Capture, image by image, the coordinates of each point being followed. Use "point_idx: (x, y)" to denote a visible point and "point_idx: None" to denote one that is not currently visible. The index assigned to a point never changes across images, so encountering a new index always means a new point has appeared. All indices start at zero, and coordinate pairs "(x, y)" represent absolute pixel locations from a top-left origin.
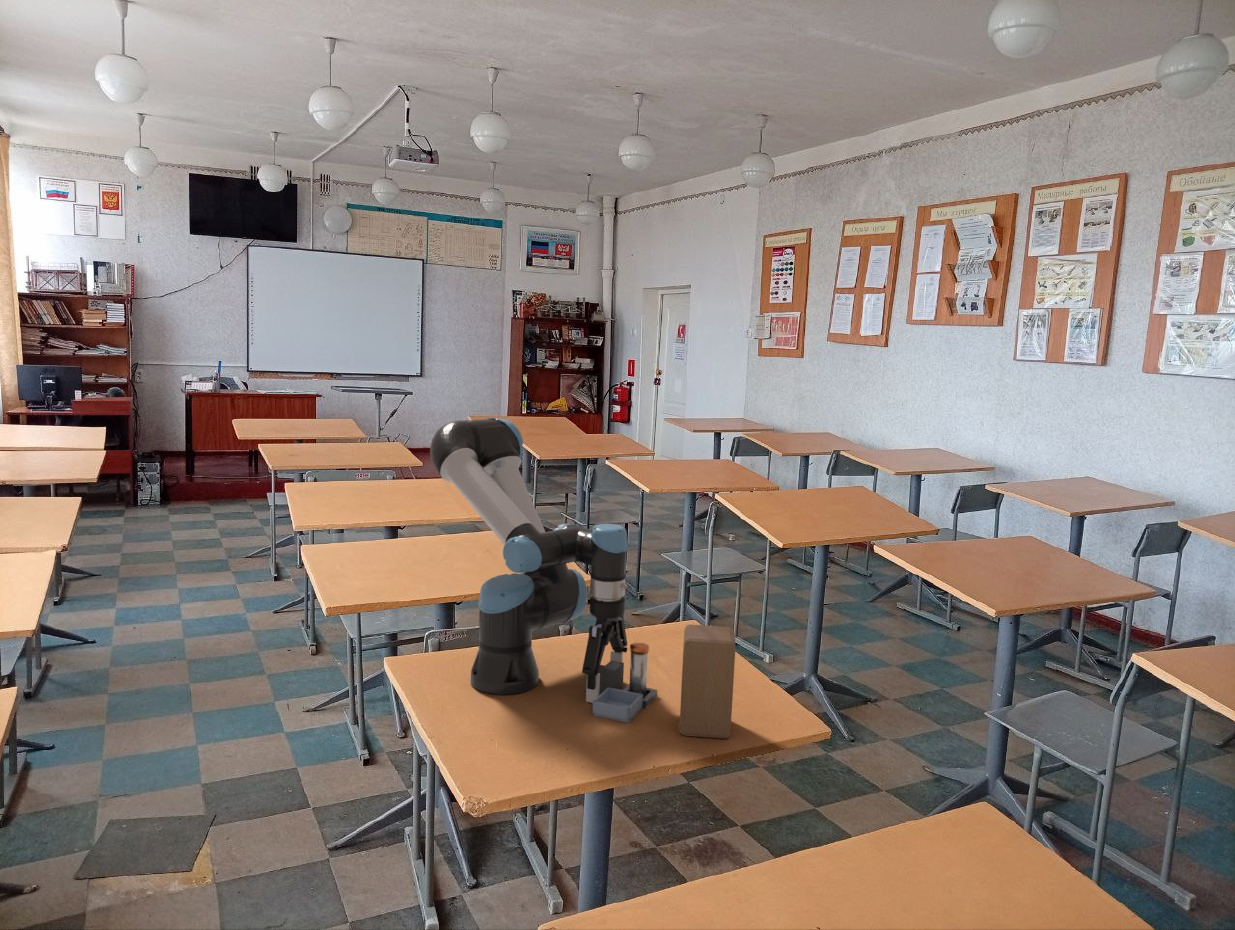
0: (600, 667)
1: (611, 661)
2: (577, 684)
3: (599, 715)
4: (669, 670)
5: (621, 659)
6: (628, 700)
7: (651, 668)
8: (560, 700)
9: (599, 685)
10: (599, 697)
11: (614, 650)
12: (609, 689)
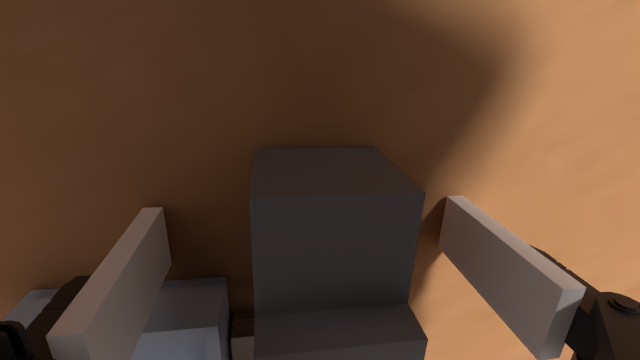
0: (371, 255)
1: (407, 348)
2: (339, 64)
3: None
4: None
5: (511, 328)
6: None
7: (603, 282)
8: (73, 66)
9: (139, 332)
10: None
11: (585, 312)
12: (206, 334)
